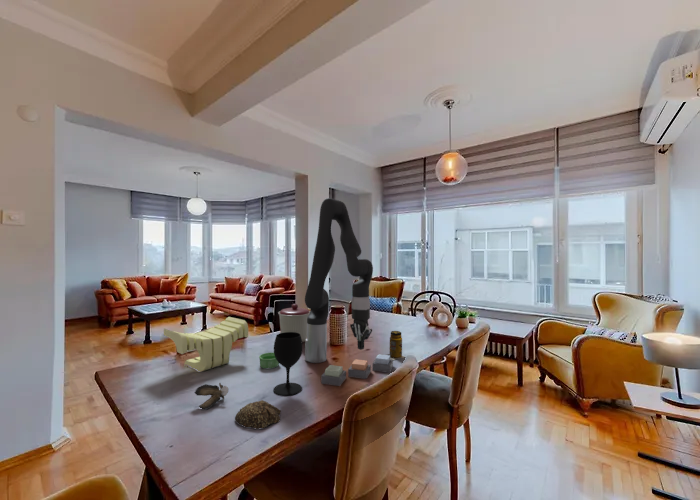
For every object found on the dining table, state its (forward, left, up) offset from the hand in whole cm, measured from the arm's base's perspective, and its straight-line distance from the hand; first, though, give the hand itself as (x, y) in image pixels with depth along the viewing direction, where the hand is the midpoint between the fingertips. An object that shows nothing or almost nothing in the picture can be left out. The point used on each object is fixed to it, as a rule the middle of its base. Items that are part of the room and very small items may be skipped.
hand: (360, 348), depth 129 cm
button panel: (0, 0, -10) cm, 10 cm away
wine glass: (-22, -22, -11) cm, 33 cm away
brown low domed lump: (-21, -42, -11) cm, 48 cm away
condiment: (+10, +26, -11) cm, 30 cm away
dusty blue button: (+8, +9, -8) cm, 15 cm away
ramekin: (-41, -3, -11) cm, 42 cm away
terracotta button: (0, 0, -8) cm, 8 cm away
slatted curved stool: (-67, -11, -11) cm, 69 cm away
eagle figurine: (-41, -39, -11) cm, 58 cm away
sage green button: (-8, -10, -8) cm, 15 cm away
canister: (-47, +33, -11) cm, 58 cm away
